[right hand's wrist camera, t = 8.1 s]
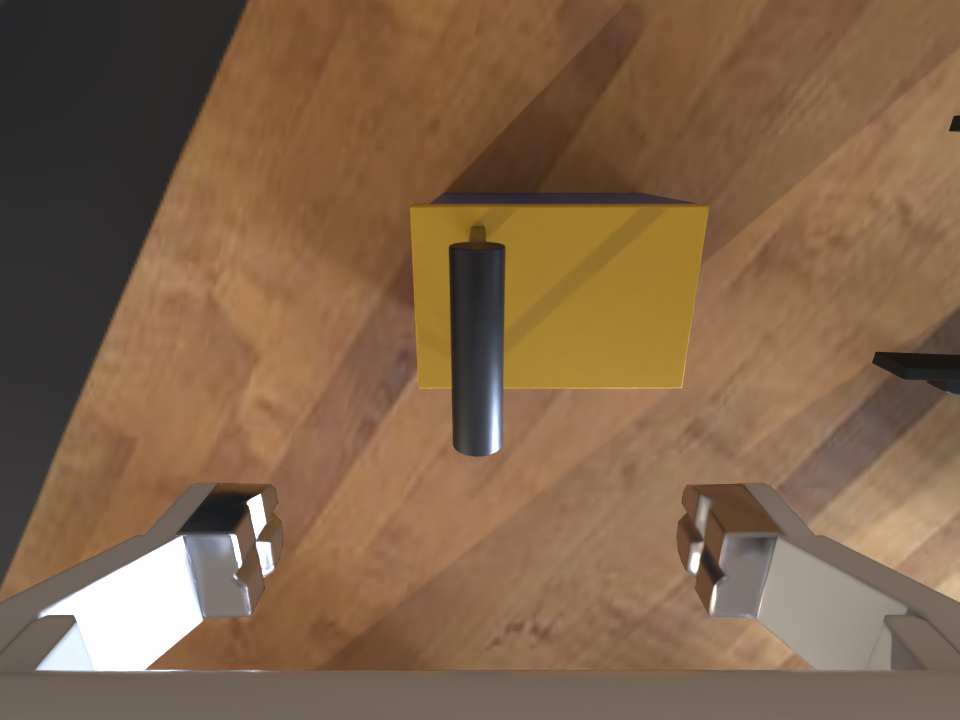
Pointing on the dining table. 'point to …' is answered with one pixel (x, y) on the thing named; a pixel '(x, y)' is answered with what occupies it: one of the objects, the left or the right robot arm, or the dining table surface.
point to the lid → (550, 301)
